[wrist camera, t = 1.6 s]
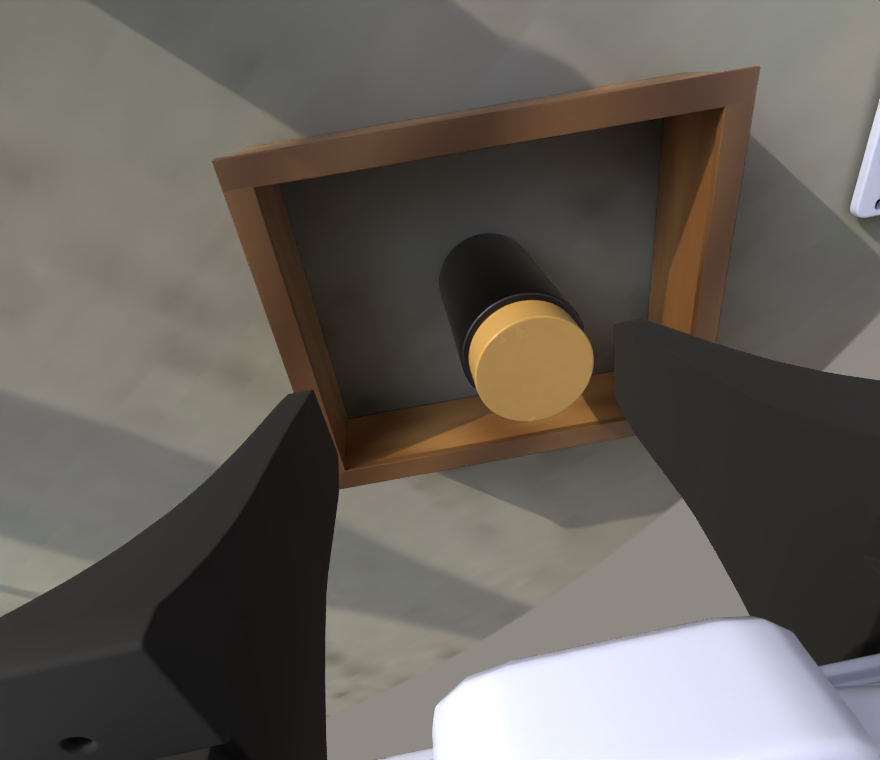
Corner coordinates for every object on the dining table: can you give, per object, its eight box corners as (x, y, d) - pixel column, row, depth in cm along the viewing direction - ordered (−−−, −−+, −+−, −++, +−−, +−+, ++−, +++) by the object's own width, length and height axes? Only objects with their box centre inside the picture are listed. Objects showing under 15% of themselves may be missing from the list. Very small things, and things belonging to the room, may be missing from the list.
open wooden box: (689, 68, 17) (761, 65, 14) (659, 376, 24) (703, 423, 21) (242, 144, 17) (211, 160, 14) (335, 435, 24) (328, 491, 20)
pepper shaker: (528, 225, 20) (603, 297, 13) (533, 313, 22) (600, 415, 15) (432, 242, 20) (460, 323, 13) (446, 329, 22) (475, 437, 15)
